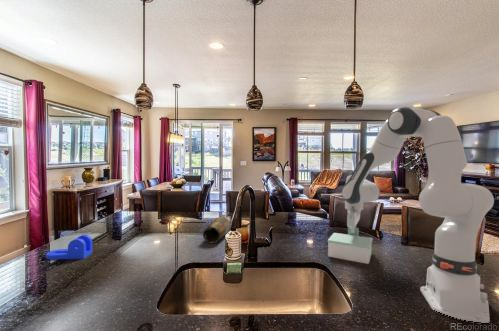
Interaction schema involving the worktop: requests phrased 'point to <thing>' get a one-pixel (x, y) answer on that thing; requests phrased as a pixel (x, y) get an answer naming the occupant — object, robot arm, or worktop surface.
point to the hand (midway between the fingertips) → (353, 232)
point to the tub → (349, 252)
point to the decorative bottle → (217, 229)
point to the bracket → (73, 249)
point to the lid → (351, 239)
